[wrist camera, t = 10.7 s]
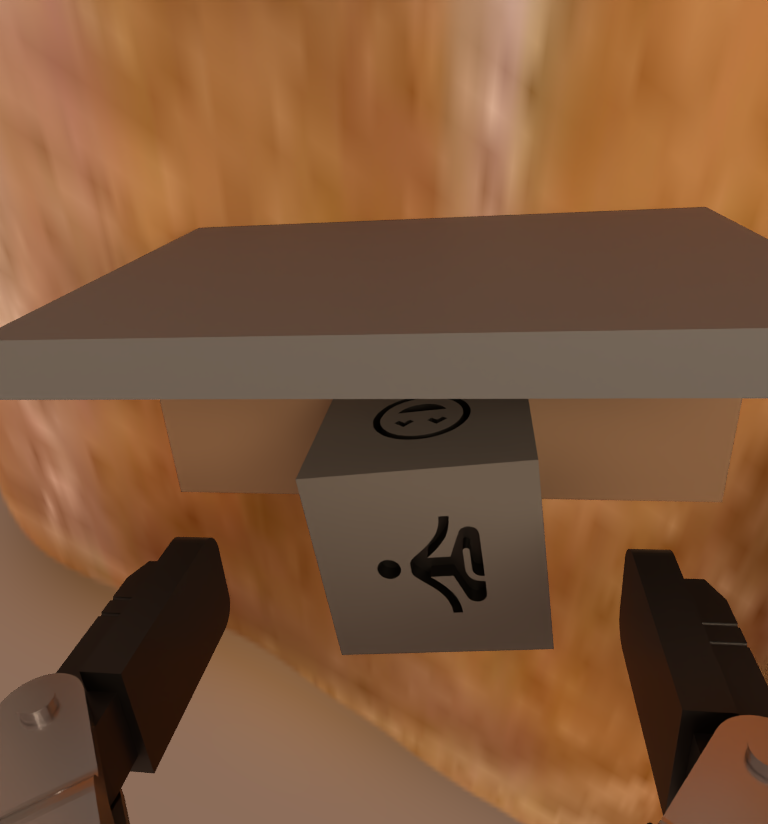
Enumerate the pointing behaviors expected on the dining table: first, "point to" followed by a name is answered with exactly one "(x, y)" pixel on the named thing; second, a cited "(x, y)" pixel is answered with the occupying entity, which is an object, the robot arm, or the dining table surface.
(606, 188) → the dining table surface
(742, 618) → the dining table surface
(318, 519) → the dice cube
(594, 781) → the dining table surface
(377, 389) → the board
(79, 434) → the dining table surface
